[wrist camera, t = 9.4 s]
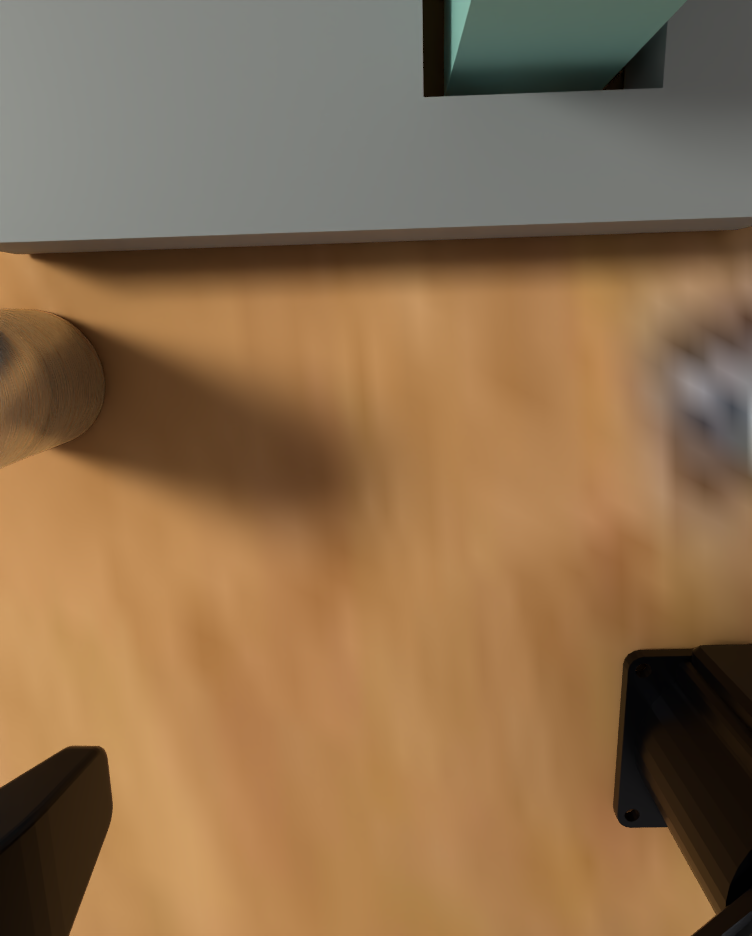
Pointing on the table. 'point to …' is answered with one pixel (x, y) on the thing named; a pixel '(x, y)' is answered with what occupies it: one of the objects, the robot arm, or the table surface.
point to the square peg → (544, 43)
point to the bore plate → (347, 131)
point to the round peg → (44, 383)
